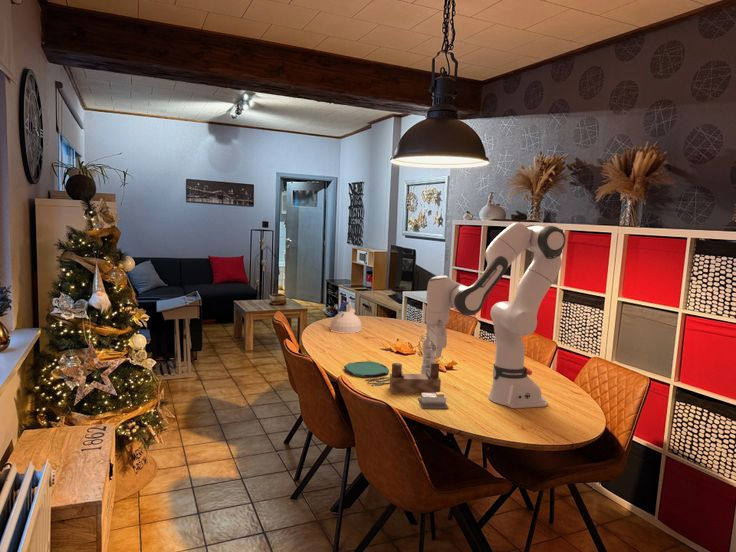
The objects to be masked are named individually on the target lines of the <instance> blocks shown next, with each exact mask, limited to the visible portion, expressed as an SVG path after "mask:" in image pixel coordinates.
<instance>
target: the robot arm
mask: <svg viewBox="0 0 736 552" xmlns="http://www.w3.org/2000/svg"><path fill="white" fill-rule="evenodd" d="M565 245H566V234H565V232H564V231H563V230H562V229H561V228H559V227H557V226H555V225H554V226H553V225H547V224H536V225H535V224H529V225H527V226H526V225H525V224H523V223H520V222H513V223H511V224H510V225H508V226H507V227H506V228H505V229H503V230H502V231H501V232H499V234H498V235H497V236H496V237H495V238H494V239H493V240H492V241H491V242H490V244H489V245H488V246H487V248H486V250H485V253H484V255H485V260H486V262H487V265H486V268H485V270H483V272H482V273H481V275H480V276H478V278H477V279H476V280H475V282H474V283H473V284H471V285H470V286H467V285H465V284H462V283H459V282H457V281H455V280H453V279H451V278H450V276H449V275H448V276H447V275H437V276H433V277H431V278H429V280H428V283H427V288H426V303H427V304H426V309H425V314H424V315H425V316H424V318H425V323H426V333H427V335H428V337H429V338H430V342H431V350H432V351H433V350H434V351H435V350H436V354H435V358H441V357H442V352H443V349H445V348H446V347H447V346H448V344H447V342H448V340H447V337H448V336H447V335H448V333H447V332H448V331H447V328H446V325H448V324H449V323H450V309H454V310H457V311H458V312H459V313H460V314H461V315H464V316H470V317H471V316H474V315H476V314H478V313H479V312H480V311H481V310H482V308H483V306H484V304H485V301H486V298H487V296H488V295H489V294H490V293H491V291H492V290H493V289H494V287H495V286H496V285H497V284H498V282H499V281H500V280H501V278H502V277H503V276H505V273H506V272H507V271H508V268H509V267H510V265H512V263H514V261H515V260H516V259H517V258H518V257H519V256H520V255H521V253H522V252H524V251H528V252H533V259H532V260H531V263H530V264H529V265H528V267H527V269H526V270H525V272H524V274H523V275H522V276H521V278H520V279H519V281H518V283H517V284H516V292H515V293H516V294H515V296H514V299H513V301H512V302H510V301H498V302H496V303H495V304H493V305H492V306H491V309H490V314H489V315H490V318H491V320H492V324H493V330H494V339H495V357H494V359H495V360H494V364H493V368H492V378H493V379H492V383H491V388H490V392H489V394H488V400H490V401H492V402H493V403H495V404H498V405H502V406H506V407H509V408H511V409H524V408H538V407H539V408H541V407H547V406H548V401H547V400H546V398H544V396H542V390H541V388H540V386H539V385H538V384H537V383H536V382H535V381H534V380H533V379H531V377H529V376H532V374H533V371H532V370H531V369H530V368H528V367H526V366H525V365H524V364H525V352H526V351H525V350H526V347H525V344H524V342H523V337H524V336H525V337H527V336H529V335H532V334H533V333H534V332H535V331H536V329H537V326H538V320H537V319H538V318H537V317H538V312H539V308H540V306H541V303H542V301H543V299H544V298H545V296H546V294H547V293H548V291H549V290H550V288H551V287H552V285H553V283H554V282H555V280H556V278H557V276H558V274H559V273H560V270H561V267H562V265H563V261H562V258H561V254H563V250H564V248H565Z"/></svg>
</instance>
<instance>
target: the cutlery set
mask: <svg viewBox="0 0 736 552" xmlns="http://www.w3.org/2000/svg"><path fill="white" fill-rule="evenodd" d="M343 367H344V369H345V371H346V372H348V373H350V374H352V375H353V376H355V377H360V378H362V377H377V376H379V377H377V378H367V379H365V380H364V382H367V383H368V384H370V386H371V387H379V386H380V387H381V386H383V385H384V386H385V385H390V376H387V377H385V376H382V377H380V376H381V375H383V374H387V375H388V374H389V372H390V370H389V368H388V367H387V366H386V365H384V364H382V363H380V362H377V361H370V360H369V361H367V360H366V361H356V362H348V363H347V364H345V365H344V366H343ZM372 381H373V382H372ZM374 381H376V382H374ZM388 381H389V382H388ZM369 382H370V383H369ZM374 385H375V386H374Z"/></svg>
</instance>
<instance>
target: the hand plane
mask: <svg viewBox="0 0 736 552" xmlns="http://www.w3.org/2000/svg"><path fill="white" fill-rule="evenodd" d="M402 365H403V364H402V363H400V362H394V363H391V373H390V374H389V377H390V378H389V379H390V380H389V382H390V384H389V390H390V393H391V394H416V393H420V394H419V395H421V393H436V392H441V381H442V380H441V378H440V376H439V375H440V373H439V372H440V363H439V361H435V362H431V371H430V374H429V372H426V374H421V373H404V372H403V370H402V369H403V366H402Z"/></svg>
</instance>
